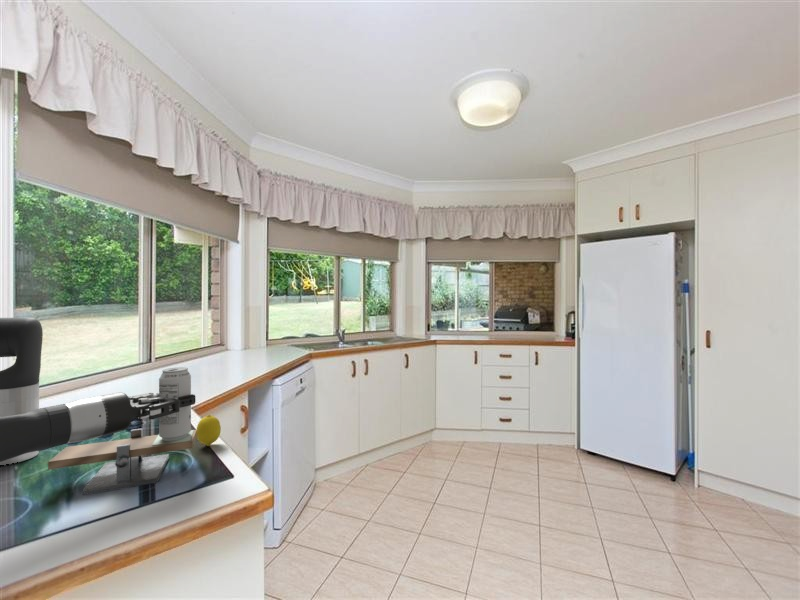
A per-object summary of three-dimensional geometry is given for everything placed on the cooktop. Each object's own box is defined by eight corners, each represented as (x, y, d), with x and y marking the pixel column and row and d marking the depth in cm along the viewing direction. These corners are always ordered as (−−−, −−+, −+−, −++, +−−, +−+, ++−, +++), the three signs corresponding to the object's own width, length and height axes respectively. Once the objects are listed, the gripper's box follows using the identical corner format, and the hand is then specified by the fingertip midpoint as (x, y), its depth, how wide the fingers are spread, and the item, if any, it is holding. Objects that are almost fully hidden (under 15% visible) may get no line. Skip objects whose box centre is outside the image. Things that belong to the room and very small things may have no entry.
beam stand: (82, 495, 70) (82, 452, 70) (105, 467, 82) (106, 431, 82) (157, 482, 74) (157, 443, 74) (168, 458, 86) (168, 424, 86)
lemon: (224, 445, 94) (224, 414, 94) (201, 452, 90) (201, 419, 90) (215, 440, 98) (215, 410, 98) (192, 446, 93) (192, 415, 93)
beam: (48, 469, 70) (48, 460, 70) (66, 453, 77) (66, 445, 77) (192, 448, 79) (192, 440, 79) (196, 436, 86) (196, 428, 86)
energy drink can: (197, 434, 83) (196, 368, 83) (171, 443, 77) (171, 372, 77) (179, 430, 85) (179, 366, 85) (152, 439, 80) (152, 370, 80)
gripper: (112, 402, 65) (204, 383, 80) (80, 392, 73) (170, 377, 87) (112, 444, 65) (204, 418, 80) (80, 430, 73) (170, 408, 87)
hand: (186, 397), depth 83 cm, fingers closed on energy drink can, 6 cm apart
